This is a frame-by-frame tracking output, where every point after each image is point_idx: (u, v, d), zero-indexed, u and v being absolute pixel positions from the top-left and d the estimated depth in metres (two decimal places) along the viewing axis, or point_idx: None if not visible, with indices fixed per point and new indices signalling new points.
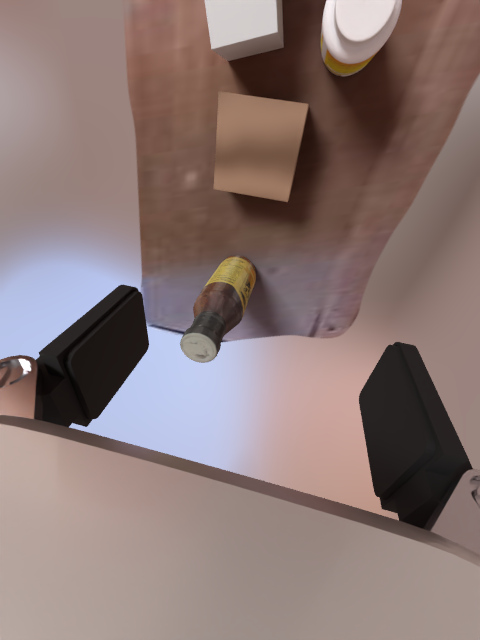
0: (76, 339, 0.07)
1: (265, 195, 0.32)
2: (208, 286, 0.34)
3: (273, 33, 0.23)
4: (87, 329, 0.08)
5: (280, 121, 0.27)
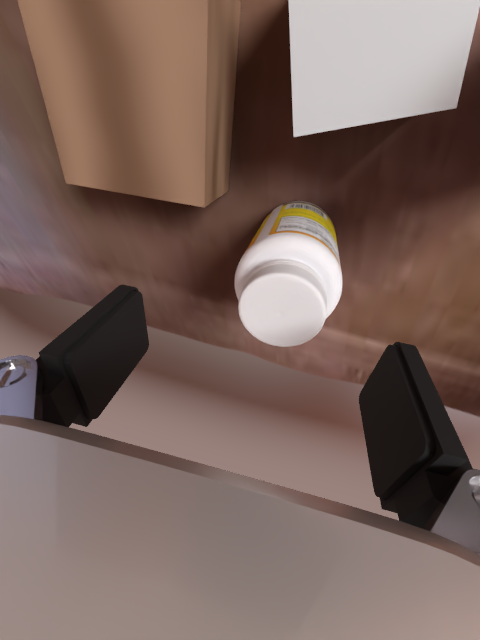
0: (76, 339, 0.07)
1: (56, 130, 0.15)
2: None
3: (293, 126, 0.12)
4: (87, 329, 0.08)
5: (175, 153, 0.14)
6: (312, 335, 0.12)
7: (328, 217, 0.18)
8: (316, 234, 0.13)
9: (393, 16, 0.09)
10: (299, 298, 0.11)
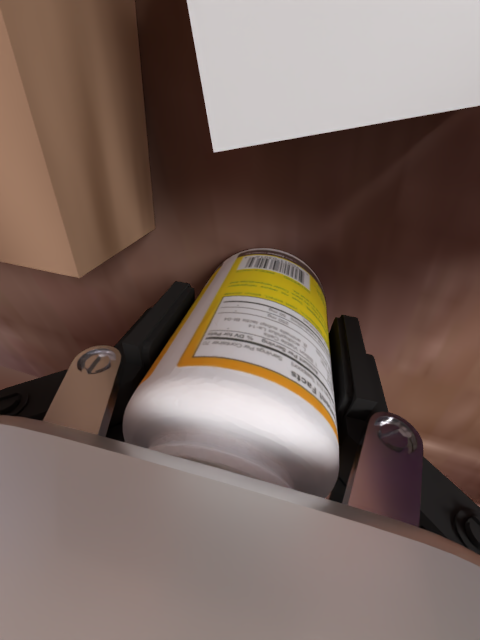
0: (151, 330, 0.08)
1: None
2: None
3: (213, 126, 0.05)
4: (158, 322, 0.08)
5: None
6: None
7: (313, 277, 0.11)
8: (282, 357, 0.06)
9: None
10: None
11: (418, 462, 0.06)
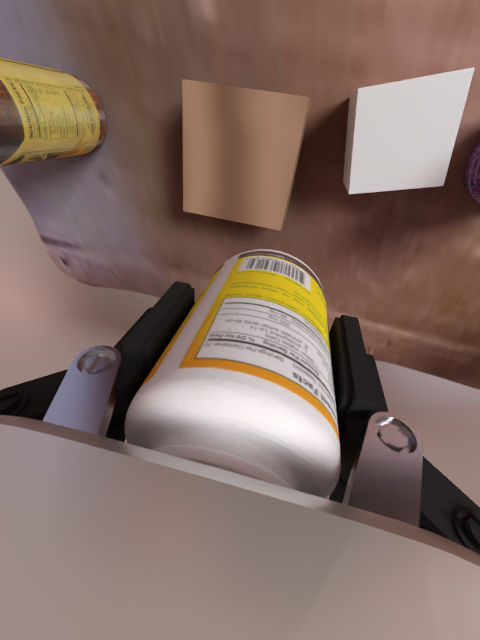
0: (151, 330, 0.08)
1: (186, 178, 0.23)
2: None
3: (349, 188, 0.20)
4: (158, 322, 0.08)
5: (267, 197, 0.22)
6: None
7: (313, 278, 0.11)
8: (284, 358, 0.06)
9: (411, 140, 0.17)
10: None
11: (418, 462, 0.06)
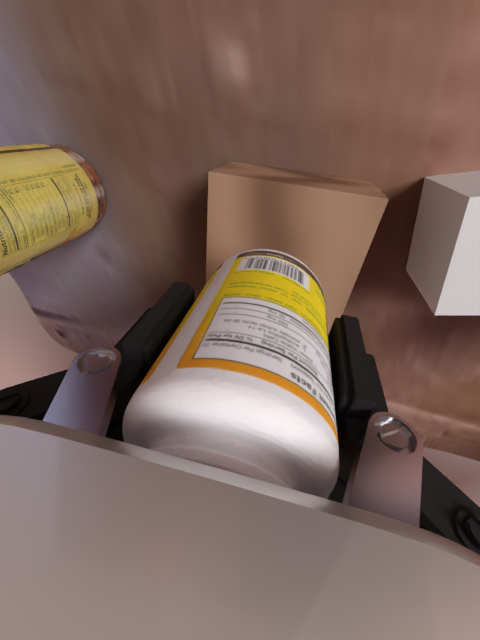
0: (150, 330, 0.08)
1: None
2: None
3: (435, 307, 0.15)
4: (157, 322, 0.08)
5: None
6: None
7: (312, 278, 0.11)
8: (282, 358, 0.06)
9: None
10: None
11: (418, 462, 0.06)
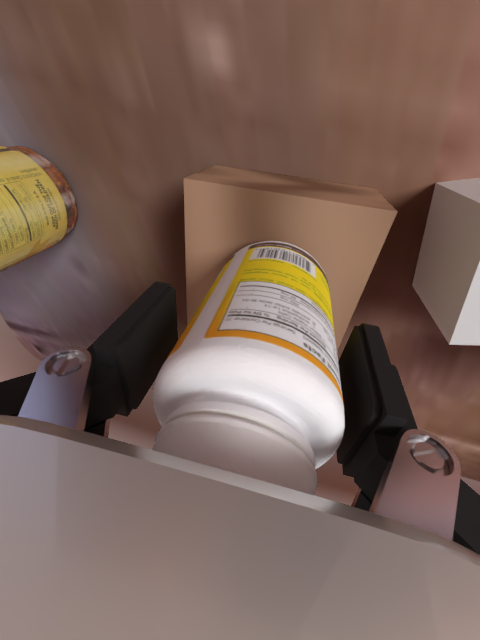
0: (124, 331, 0.08)
1: (191, 300, 0.15)
2: None
3: (449, 335, 0.13)
4: (132, 323, 0.08)
5: None
6: None
7: (318, 267, 0.11)
8: (296, 331, 0.07)
9: None
10: None
11: (454, 486, 0.05)
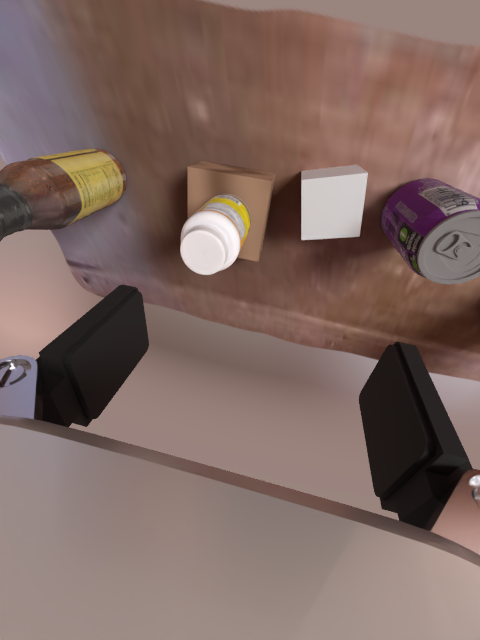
0: (76, 338, 0.07)
1: None
2: (65, 177, 0.25)
3: (301, 236, 0.30)
4: (87, 329, 0.08)
5: (247, 239, 0.32)
6: (220, 266, 0.23)
7: (243, 204, 0.28)
8: (224, 212, 0.24)
9: (336, 209, 0.27)
10: (210, 244, 0.22)
11: None
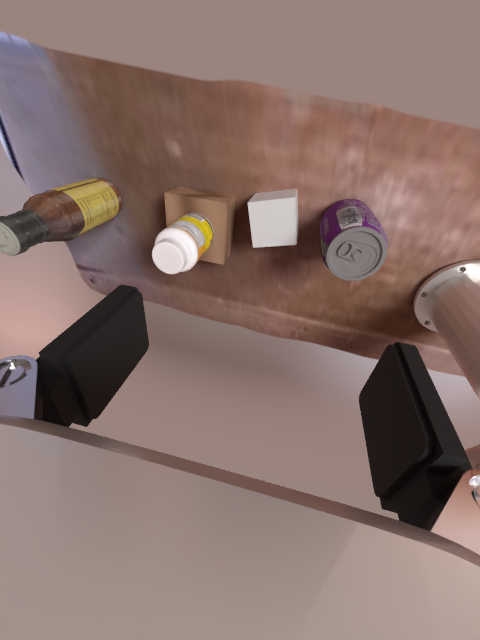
0: (76, 339, 0.07)
1: None
2: (72, 203, 0.35)
3: (253, 244, 0.38)
4: (87, 329, 0.08)
5: (213, 247, 0.40)
6: (181, 267, 0.31)
7: (206, 220, 0.37)
8: (185, 228, 0.32)
9: (276, 224, 0.35)
10: (172, 251, 0.31)
11: None
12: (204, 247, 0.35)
